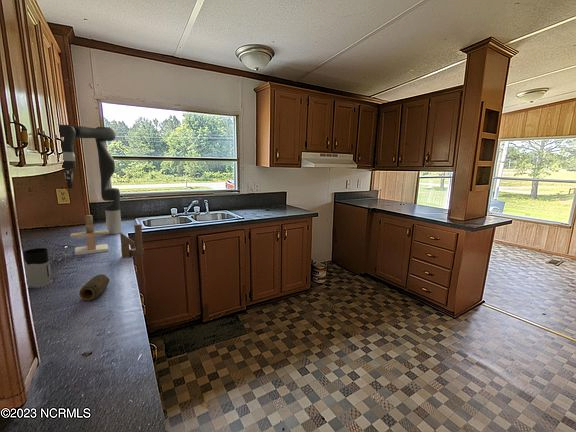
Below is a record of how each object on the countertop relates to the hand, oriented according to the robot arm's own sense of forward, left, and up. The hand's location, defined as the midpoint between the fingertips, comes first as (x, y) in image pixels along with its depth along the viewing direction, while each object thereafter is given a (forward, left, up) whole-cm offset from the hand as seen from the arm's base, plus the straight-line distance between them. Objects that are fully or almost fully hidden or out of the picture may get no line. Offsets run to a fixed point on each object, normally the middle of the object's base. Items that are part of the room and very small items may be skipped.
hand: (70, 187), depth 164 cm
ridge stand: (+15, +8, -36) cm, 40 cm away
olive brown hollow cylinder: (+80, +9, -36) cm, 89 cm away
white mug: (+59, -8, -36) cm, 70 cm away
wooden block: (+36, +27, -36) cm, 58 cm away
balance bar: (+15, +8, -27) cm, 32 cm away
